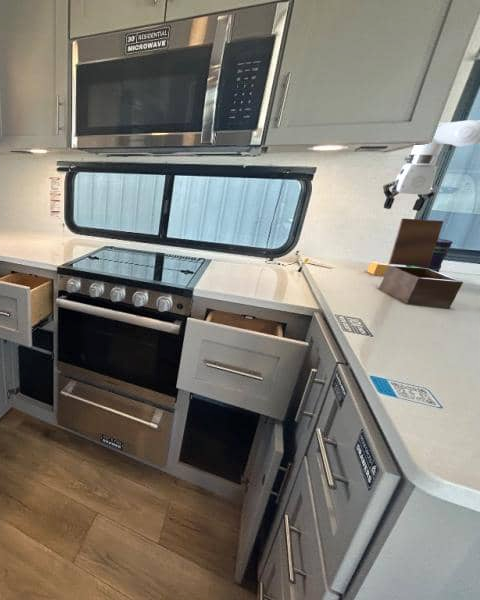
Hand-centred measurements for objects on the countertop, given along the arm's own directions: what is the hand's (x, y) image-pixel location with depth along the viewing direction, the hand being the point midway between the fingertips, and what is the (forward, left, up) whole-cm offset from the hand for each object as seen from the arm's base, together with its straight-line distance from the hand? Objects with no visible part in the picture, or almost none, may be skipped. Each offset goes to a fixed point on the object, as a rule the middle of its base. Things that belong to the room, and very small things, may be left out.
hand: (401, 209), depth 125 cm
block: (0, 0, -26) cm, 26 cm away
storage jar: (-14, -10, -26) cm, 31 cm away
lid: (-5, +21, -9) cm, 23 cm away
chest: (-8, +28, -26) cm, 39 cm away
